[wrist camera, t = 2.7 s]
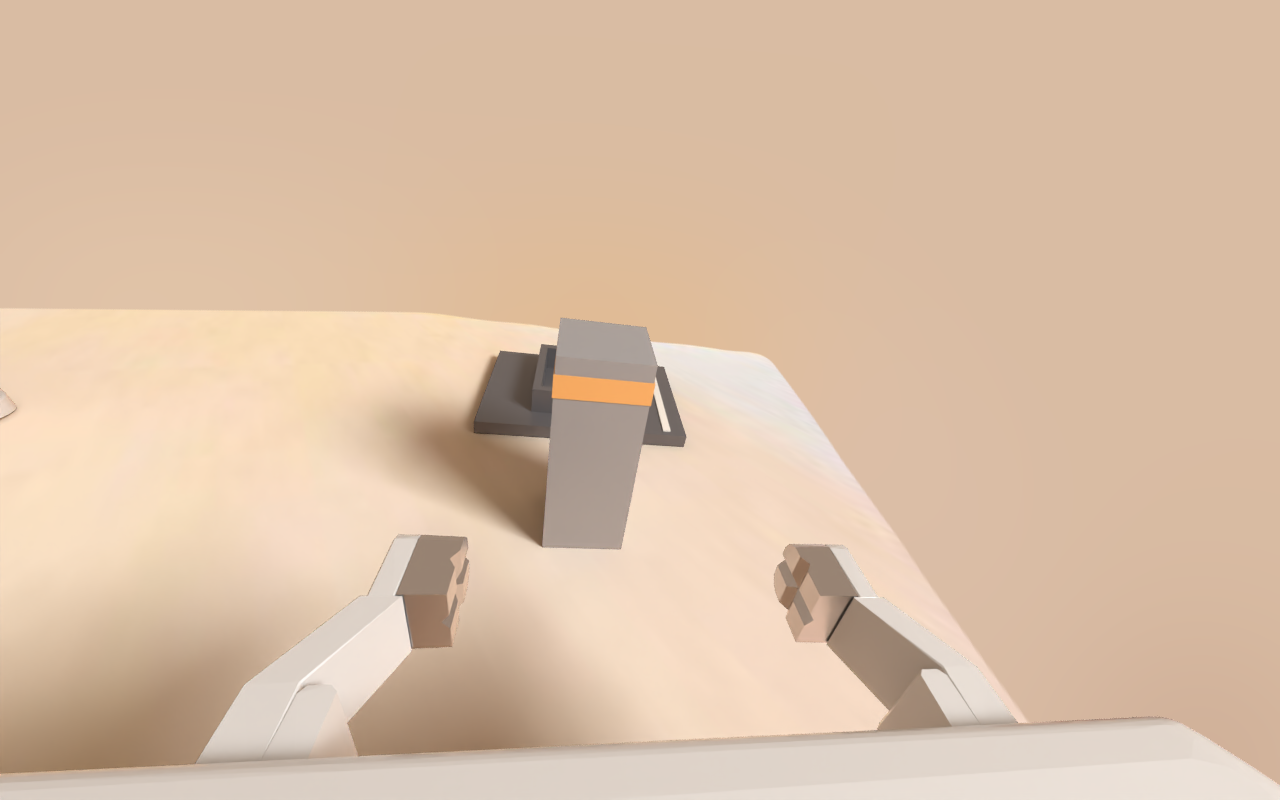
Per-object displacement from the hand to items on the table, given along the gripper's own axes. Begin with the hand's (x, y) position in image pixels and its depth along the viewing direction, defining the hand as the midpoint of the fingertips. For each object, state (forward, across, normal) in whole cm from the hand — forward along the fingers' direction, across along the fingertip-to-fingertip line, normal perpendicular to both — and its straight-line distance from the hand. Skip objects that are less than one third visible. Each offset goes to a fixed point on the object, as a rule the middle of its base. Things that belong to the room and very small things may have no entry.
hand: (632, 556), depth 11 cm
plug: (+13, 0, +11) cm, 17 cm away
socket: (+27, 0, +11) cm, 29 cm away
